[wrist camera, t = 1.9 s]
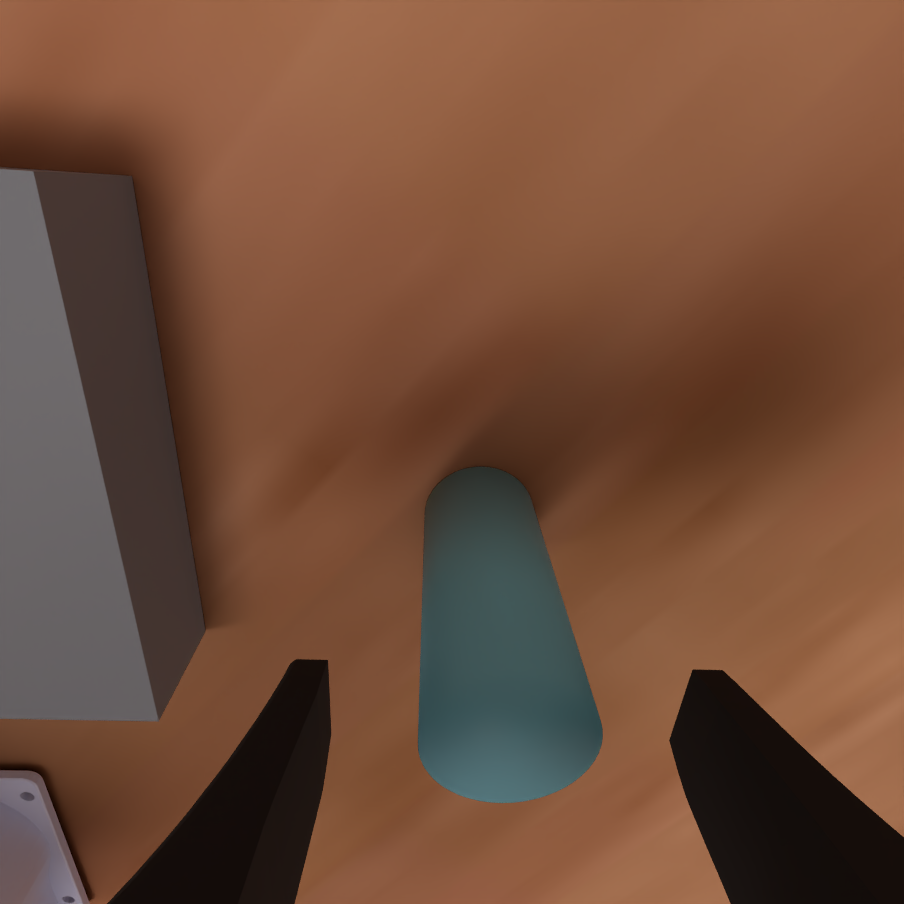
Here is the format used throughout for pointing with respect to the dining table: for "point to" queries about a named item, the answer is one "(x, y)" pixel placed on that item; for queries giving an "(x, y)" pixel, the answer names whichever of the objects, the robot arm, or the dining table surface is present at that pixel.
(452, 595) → the peg
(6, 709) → the socket
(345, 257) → the dining table surface
